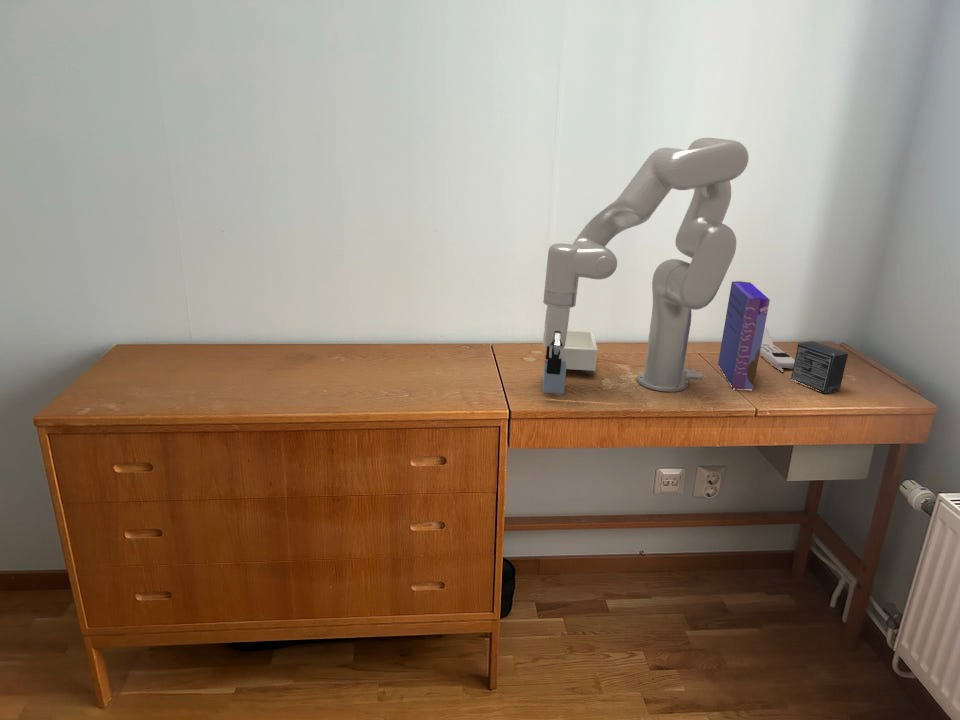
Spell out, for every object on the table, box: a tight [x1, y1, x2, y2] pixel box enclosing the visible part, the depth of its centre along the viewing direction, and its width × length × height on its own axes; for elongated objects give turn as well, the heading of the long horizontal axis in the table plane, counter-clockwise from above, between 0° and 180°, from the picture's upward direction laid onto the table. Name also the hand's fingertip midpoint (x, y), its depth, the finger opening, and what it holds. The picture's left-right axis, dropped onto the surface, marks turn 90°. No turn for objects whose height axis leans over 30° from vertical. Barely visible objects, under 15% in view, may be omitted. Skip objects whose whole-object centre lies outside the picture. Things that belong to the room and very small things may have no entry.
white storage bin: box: [561, 329, 599, 376], centre depth 184 cm, size 12×16×7 cm
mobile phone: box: [760, 326, 795, 372], centre depth 199 cm, size 6×6×25 cm
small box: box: [790, 340, 849, 395], centre depth 178 cm, size 11×6×10 cm, turn 29°
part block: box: [542, 359, 567, 395], centre depth 169 cm, size 5×5×7 cm
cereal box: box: [717, 280, 771, 390], centre depth 179 cm, size 17×5×24 cm, turn 174°
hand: (552, 366), depth 167 cm, fingers open, 9 cm apart
